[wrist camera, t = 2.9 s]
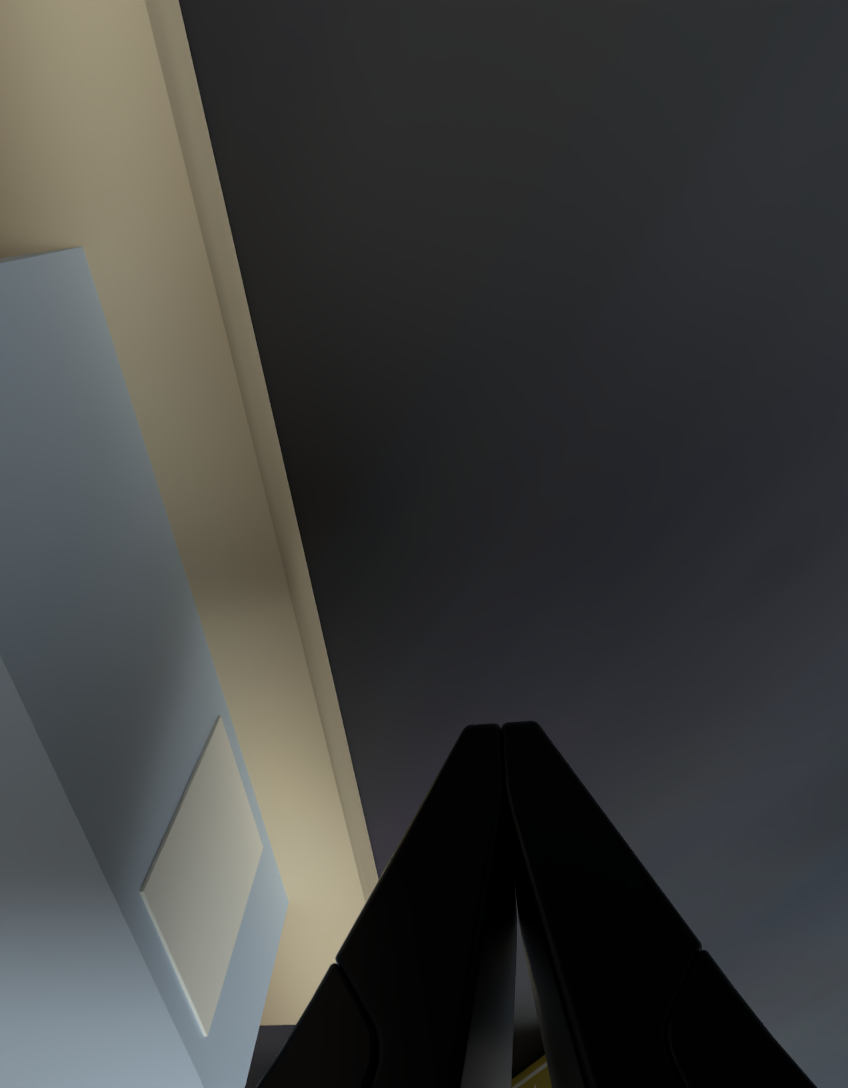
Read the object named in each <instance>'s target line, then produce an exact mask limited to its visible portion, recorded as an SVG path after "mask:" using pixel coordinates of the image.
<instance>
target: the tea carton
mask: <svg viewBox="0 0 848 1088" xmlns="http://www.w3.org/2000/svg"><path fill="white" fill-rule="evenodd" d="M288 904H289V901H288V898H287V895H286V892H285V888H284V885H283V882H282V879H281V876H280V873H279V869H278V866H277V863H276V860H275V857H274V853H273V850H272V847H271V844H270V841H269V838H268V834H267V831H266V828H265V825H264V822H263V818H262V815H261V812H260V809H259V806H258V803H257V799H256V796H255V793H254V790H253V787H252V783H251V780H250V777H249V774H248V771H247V768H246V764H245V761H244V758H243V755H242V752H241V748H240V745H239V742H238V739H237V736H236V732H235V729H234V726H233V723H232V720H231V717H230V713H229V710H228V707H227V704H226V701H225V697H224V694H223V691H222V688H221V685H220V682H219V678H218V675H217V672H216V669H215V666H214V662H213V659H212V656H211V653H210V650H209V647H208V643H207V640H206V637H205V634H204V631H203V627H202V624H201V621H200V618H199V615H198V612H197V608H196V605H195V602H194V599H193V596H192V592H191V589H190V586H189V583H188V580H187V577H186V573H185V570H184V567H183V564H182V561H181V557H180V554H179V551H178V548H177V545H176V542H175V538H174V535H173V532H172V529H171V526H170V522H169V519H168V516H167V513H166V510H165V507H164V503H163V500H162V497H161V494H160V491H159V487H158V484H157V481H156V478H155V475H154V472H153V468H152V465H151V462H150V459H149V456H148V452H147V449H146V446H145V443H144V440H143V437H142V433H141V430H140V427H139V424H138V421H137V417H136V414H135V411H134V408H133V405H132V402H131V398H130V395H129V392H128V389H127V386H126V382H125V379H124V376H123V373H122V370H121V367H120V363H119V360H118V357H117V354H116V351H115V347H114V344H113V341H112V338H111V335H110V332H109V328H108V325H107V322H106V319H105V316H104V312H103V309H102V306H101V303H100V300H99V297H98V293H97V290H96V287H95V284H94V281H93V277H92V274H91V271H90V268H89V265H88V262H87V258H86V255H85V252H84V249H83V247H76V248H69V249H62V250H55V251H47V252H40V253H33V254H26V255H19V256H12V257H5V258H0V1088H245V1085H246V1081H247V1077H248V1072H249V1068H250V1064H251V1060H252V1056H253V1051H254V1047H255V1043H256V1039H257V1035H258V1030H259V1026H260V1022H261V1018H262V1013H263V1009H264V1005H265V1001H266V997H267V992H268V988H269V984H270V980H271V975H272V971H273V967H274V963H275V959H276V954H277V950H278V946H279V942H280V937H281V933H282V929H283V925H284V921H285V916H286V912H287V908H288Z"/></svg>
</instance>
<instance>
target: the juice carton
mask: <svg viewBox="0 0 848 1088" xmlns="http://www.w3.org/2000/svg"><path fill="white" fill-rule="evenodd" d="M511 1088H552V1086H551V1081H550V1076H549V1071H548V1066H547V1061H546V1056H545V1055H543V1056H542V1057H541V1058H539V1059H538V1060H537V1061H535V1062H534V1063H533V1064H531V1065H530V1066H529V1067H528V1068H526V1069H525V1070H524V1071H522V1072H521V1073H520V1074H518V1075H517V1076H516V1077H514V1078H513V1079H512V1080H511Z"/></svg>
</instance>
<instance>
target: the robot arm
mask: <svg viewBox="0 0 848 1088" xmlns="http://www.w3.org/2000/svg"><path fill="white" fill-rule="evenodd" d="M501 732H502V733H501ZM515 889H516V892H515ZM516 899H517V908H518V917H519V924H520V930H521V935H522V941H523V946H524V951H525V956H526V961H527V966H528V971H529V976H530V981H531V986H532V991H533V996H534V1001H535V1006H536V1011H537V1016H538V1021H539V1026H540V1031H541V1036H542V1041H543V1046H544V1051H545V1056H546V1061H547V1066H548V1071H549V1076H550V1081H551V1086H552V1088H817V1087H816V1086H815V1084H814V1083H813V1082H812V1081H811V1080H810V1079H809V1078H808V1076H807V1075H806V1074H805V1073H804V1072H803V1071H802V1069H801V1068H800V1067H799V1066H798V1065H797V1064H796V1063H795V1061H794V1060H793V1059H792V1058H791V1057H790V1056H789V1055H788V1053H787V1052H786V1051H785V1050H784V1049H783V1048H782V1047H781V1045H780V1044H779V1043H778V1042H777V1041H776V1040H775V1039H774V1037H773V1036H772V1035H771V1033H770V1032H769V1031H768V1030H767V1028H766V1027H765V1026H764V1025H763V1023H762V1022H761V1021H760V1019H759V1018H758V1017H757V1016H756V1014H755V1013H754V1012H753V1011H752V1009H751V1008H750V1007H749V1005H748V1004H747V1003H746V1002H745V1000H744V999H743V998H742V997H741V995H740V994H739V993H738V991H737V990H736V989H735V988H734V986H733V985H732V984H731V982H730V981H729V980H728V978H727V977H726V976H725V974H724V973H723V972H722V970H721V969H720V968H719V966H718V965H717V963H716V962H715V961H714V959H713V958H712V957H711V955H710V954H709V953H708V952H707V951H706V950H702V945H701V943H700V941H699V940H698V938H697V937H696V936H695V934H694V933H693V932H692V930H691V929H690V928H689V926H688V925H687V924H686V922H685V921H684V920H683V918H682V917H681V916H680V914H679V913H678V911H677V910H676V909H675V907H674V906H673V905H672V903H671V902H670V901H669V899H668V898H667V897H666V895H665V894H664V893H663V891H662V890H661V889H660V887H659V886H658V885H657V883H656V882H655V880H654V879H653V878H652V876H651V875H650V874H649V872H648V871H647V870H646V868H645V867H644V866H643V864H642V863H641V862H640V860H639V859H638V858H637V856H636V855H635V853H634V852H633V851H632V849H631V848H630V847H629V845H628V844H627V843H626V841H625V840H624V839H623V837H622V836H621V835H620V833H619V832H618V831H617V829H616V828H615V826H614V825H613V824H612V822H611V821H610V820H609V818H608V817H607V816H606V814H605V813H604V812H603V810H602V809H601V808H600V806H599V805H598V804H597V802H596V801H595V800H594V798H593V797H592V795H591V794H590V793H589V791H588V790H587V789H586V787H585V786H584V785H583V783H582V782H581V781H580V779H579V778H578V777H577V775H576V774H575V773H574V771H573V770H572V768H571V767H570V766H569V764H568V763H567V762H566V760H565V759H564V758H563V756H562V755H561V754H560V752H559V751H558V750H557V748H556V747H555V746H554V744H553V743H552V741H551V740H550V739H549V737H548V736H547V735H546V733H545V732H544V731H543V729H542V728H541V727H540V725H539V724H538V723H536V722H534V721H522V722H507V723H505V724H503V726H502V729H501V728H500V726H499V725H498V724H495V723H493V724H478V725H468V726H467V727H465V728H464V730H463V731H462V733H461V734H460V736H459V738H458V740H457V742H456V743H455V745H454V747H453V749H452V750H451V752H450V754H449V756H448V758H447V759H446V761H445V763H444V765H443V766H442V768H441V770H440V772H439V774H438V775H437V777H436V779H435V781H434V782H433V784H432V786H431V788H430V790H429V791H428V793H427V795H426V797H425V798H424V800H423V802H422V804H421V806H420V807H419V809H418V811H417V813H416V814H415V816H414V818H413V820H412V822H411V823H410V825H409V827H408V829H407V830H406V832H405V834H404V836H403V838H402V839H401V841H400V843H399V845H398V847H397V848H396V850H395V852H394V854H393V855H392V857H391V859H390V861H389V863H388V864H387V866H386V868H385V870H384V871H383V873H382V875H381V877H380V879H379V880H378V882H377V884H376V886H375V887H374V889H373V891H372V893H371V895H370V896H369V898H368V900H367V902H366V903H365V905H364V907H363V909H362V911H361V912H360V914H359V916H358V918H357V919H356V921H355V923H354V925H353V927H352V928H351V930H350V932H349V934H348V935H347V937H346V939H345V941H344V943H343V944H342V946H341V948H340V950H339V951H338V953H337V955H336V957H335V960H336V963H333V964H331V965H330V967H329V968H328V970H327V972H326V974H325V976H324V977H323V979H322V981H321V983H320V985H319V986H318V988H317V990H316V992H315V994H314V995H313V997H312V999H311V1001H310V1002H309V1004H308V1006H307V1007H306V1009H305V1011H304V1012H303V1014H302V1015H301V1017H300V1019H299V1020H298V1022H297V1024H296V1025H295V1027H294V1029H293V1030H292V1032H291V1034H290V1035H289V1037H288V1039H287V1040H286V1042H285V1044H284V1045H283V1047H282V1049H281V1050H280V1052H279V1053H278V1055H277V1056H276V1058H275V1059H274V1061H273V1062H272V1064H271V1065H270V1067H269V1068H268V1070H267V1071H266V1073H265V1074H264V1075H263V1077H262V1078H261V1080H260V1081H259V1083H258V1084H257V1086H256V1087H255V1088H511V1078H512V1052H513V1027H514V1001H515V976H516V951H517V909H516Z"/></svg>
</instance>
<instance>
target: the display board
mask: <svg viewBox="0 0 848 1088" xmlns="http://www.w3.org/2000/svg"><path fill="white" fill-rule="evenodd" d="M76 247H83V249H84V252H85V255H86V258H87V262H88V265H89V268H90V271H91V274H92V277H93V281H94V284H95V287H96V290H97V293H98V297H99V300H100V303H101V306H102V309H103V312H104V316H105V319H106V322H107V325H108V328H109V332H110V335H111V338H112V341H113V344H114V347H115V351H116V354H117V357H118V360H119V363H120V367H121V370H122V373H123V376H124V379H125V382H126V386H127V389H128V392H129V395H130V398H131V402H132V405H133V408H134V411H135V414H136V417H137V421H138V424H139V427H140V430H141V433H142V437H143V440H144V443H145V446H146V449H147V452H148V456H149V459H150V462H151V465H152V468H153V472H154V475H155V478H156V481H157V484H158V487H159V491H160V494H161V497H162V500H163V503H164V507H165V510H166V513H167V516H168V519H169V522H170V526H171V529H172V532H173V535H174V538H175V542H176V545H177V548H178V551H179V554H180V557H181V561H182V564H183V567H184V570H185V573H186V577H187V580H188V583H189V586H190V589H191V592H192V596H193V599H194V602H195V605H196V608H197V612H198V615H199V618H200V621H201V624H202V627H203V631H204V634H205V637H206V640H207V643H208V647H209V650H210V653H211V656H212V659H213V662H214V666H215V669H216V672H217V675H218V678H219V682H220V685H221V688H222V691H223V694H224V697H225V701H226V704H227V707H228V710H229V713H230V717H231V720H232V723H233V726H234V729H235V732H236V736H237V739H238V742H239V745H240V748H241V752H242V755H243V758H244V761H245V764H246V768H247V771H248V774H249V777H250V780H251V783H252V787H253V790H254V793H255V796H256V799H257V803H258V806H259V809H260V812H261V815H262V818H263V822H264V825H265V828H266V831H267V834H268V838H269V841H270V844H271V847H272V850H273V853H274V857H275V860H276V863H277V866H278V869H279V873H280V876H281V879H282V882H283V885H284V888H285V892H286V895H287V898H288V901H289V904H288V908H287V912H286V916H285V921H284V925H283V929H282V933H281V937H280V942H279V946H278V950H277V954H276V959H275V963H274V967H273V971H272V975H271V980H270V984H269V988H268V992H267V997H266V1001H265V1005H264V1009H263V1013H262V1018H261V1022H260V1025H296V1024H297V1022H298V1020H299V1019H300V1017H301V1015H302V1014H303V1012H304V1011H305V1009H306V1007H307V1006H308V1004H309V1002H310V1001H311V999H312V997H313V995H314V994H315V992H316V990H317V988H318V986H319V985H320V983H321V981H322V979H323V977H324V976H325V974H326V972H327V970H328V968H329V967H330V965H331V964H333V963H336V960H335V957H336V955H337V953H338V951H339V950H340V948H341V946H342V944H343V943H344V941H345V939H346V937H347V935H348V934H349V932H350V930H351V928H352V927H353V925H354V923H355V921H356V919H357V918H358V916H359V914H360V912H361V911H362V909H363V907H364V905H365V903H366V902H367V900H368V898H369V896H370V895H371V893H372V891H373V889H374V887H375V886H376V884H377V882H378V875H377V871H376V867H375V862H374V858H373V853H372V849H371V845H370V840H369V836H368V831H367V827H366V823H365V818H364V814H363V809H362V805H361V801H360V796H359V792H358V787H357V783H356V779H355V774H354V770H353V765H352V761H351V757H350V752H349V748H348V743H347V739H346V735H345V730H344V726H343V721H342V717H341V713H340V708H339V704H338V699H337V695H336V691H335V686H334V682H333V677H332V673H331V669H330V664H329V660H328V655H327V651H326V647H325V642H324V638H323V634H322V629H321V625H320V620H319V616H318V612H317V607H316V603H315V598H314V594H313V590H312V585H311V581H310V576H309V572H308V568H307V563H306V559H305V554H304V550H303V546H302V541H301V537H300V532H299V528H298V524H297V519H296V515H295V510H294V506H293V502H292V497H291V493H290V488H289V484H288V480H287V475H286V471H285V466H284V462H283V458H282V453H281V449H280V444H279V440H278V436H277V431H276V427H275V423H274V418H273V414H272V409H271V405H270V401H269V396H268V392H267V387H266V383H265V379H264V374H263V370H262V365H261V361H260V357H259V352H258V348H257V343H256V339H255V335H254V330H253V326H252V321H251V317H250V313H249V308H248V304H247V299H246V295H245V291H244V286H243V282H242V277H241V273H240V269H239V264H238V260H237V255H236V251H235V247H234V242H233V238H232V233H231V229H230V225H229V220H228V216H227V211H226V207H225V203H224V198H223V194H222V190H221V185H220V181H219V176H218V172H217V168H216V163H215V159H214V154H213V150H212V146H211V141H210V137H209V132H208V128H207V124H206V119H205V115H204V110H203V106H202V102H201V97H200V93H199V88H198V84H197V80H196V75H195V71H194V66H193V62H192V58H191V53H190V49H189V44H188V40H187V36H186V31H185V27H184V22H183V18H182V14H181V9H180V5H179V0H0V258H5V257H12V256H19V255H26V254H33V253H40V252H47V251H55V250H62V249H69V248H76Z"/></svg>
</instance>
